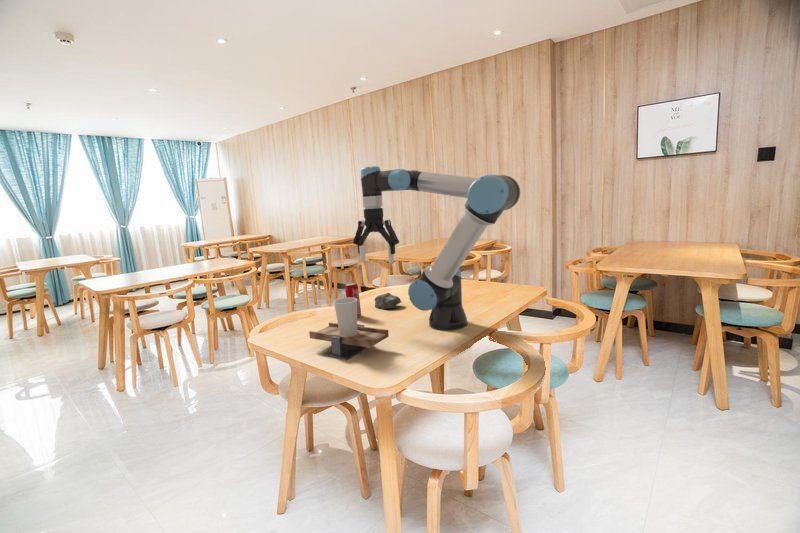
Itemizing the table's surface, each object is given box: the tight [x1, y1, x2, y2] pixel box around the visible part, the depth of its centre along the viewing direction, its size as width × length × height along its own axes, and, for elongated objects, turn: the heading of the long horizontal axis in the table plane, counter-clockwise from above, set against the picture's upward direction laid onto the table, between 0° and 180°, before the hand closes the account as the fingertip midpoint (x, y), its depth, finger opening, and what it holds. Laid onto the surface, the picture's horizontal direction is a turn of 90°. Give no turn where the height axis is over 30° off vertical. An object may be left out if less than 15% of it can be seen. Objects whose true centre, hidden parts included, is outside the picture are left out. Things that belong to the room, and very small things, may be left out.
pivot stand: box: [323, 323, 369, 361], centre depth 141 cm, size 10×16×7 cm, turn 149°
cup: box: [333, 297, 358, 337], centre depth 139 cm, size 8×8×12 cm
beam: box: [308, 322, 390, 349], centre depth 141 cm, size 26×11×2 cm, turn 59°
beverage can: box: [344, 282, 362, 318], centre depth 180 cm, size 6×6×15 cm
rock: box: [374, 292, 402, 311], centre depth 191 cm, size 13×9×6 cm, turn 76°
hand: (377, 262), depth 159 cm, fingers open, 13 cm apart
